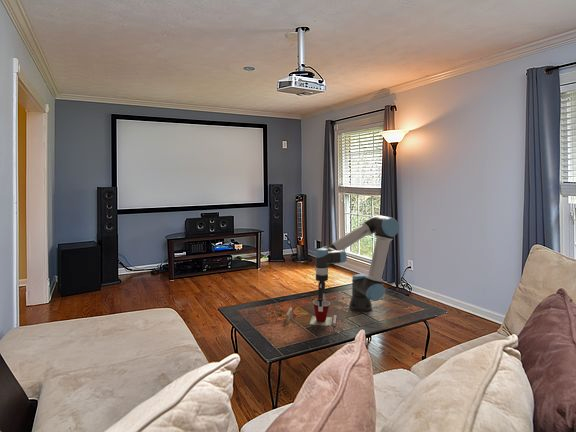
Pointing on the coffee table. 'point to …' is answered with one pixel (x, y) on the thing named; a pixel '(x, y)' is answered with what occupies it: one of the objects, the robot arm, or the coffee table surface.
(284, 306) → the coffee table surface
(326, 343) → the coffee table surface
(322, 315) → the plastic cup
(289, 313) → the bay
